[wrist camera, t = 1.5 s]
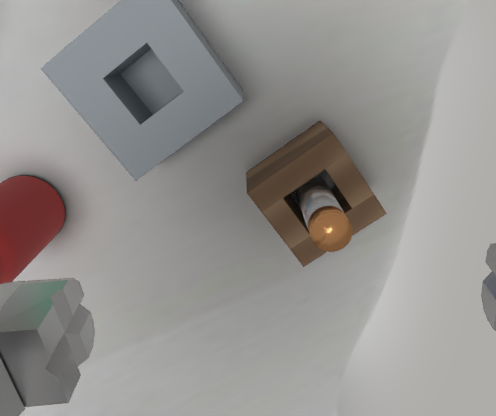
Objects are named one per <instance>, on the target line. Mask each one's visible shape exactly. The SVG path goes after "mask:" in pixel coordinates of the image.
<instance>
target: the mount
mask: <svg viewBox="0 0 496 416" xmlns="http://www.w3.org/2000/svg"><path fill="white" fill-rule="evenodd" d="M323 170H326V171H327V172H328V174H329V175H330V177H331V178H332V180H333V181H334V183H335V184H336V185H337V187H336V188H334V189H333V190H331V192H332V193H333V195H334V197H335V198H336V200H337V202H338V203H339V205H340V207H341V208H342V210H343V212H344V213H345V215H346V216H347V218H348V220H349V221H350V223H351V225H352V230H353V232H352V235H354V234H355V233H357V232H359V231H360V230H362V229H363V228H365V227H366V226H368V225H370V224H371V223H373V222H374V221H376V220H377V219H379V218H380V217H382V216H384V215H385V214H387V213H386V212H385V210H384V209H383V207H382V206H381V204H380V203H379V201H378V200H377V198H376V197H375V195H374V194H373V192H372V191H371V189H370V188H369V186H368V185H367V183H366V182H365V180H364V179H363V177H362V176H361V174H360V173H359V171H358V170H357V168H356V167H355V165H354V164H353V162H352V161H351V159H350V158H349V156H348V155H347V153H346V152H345V150H344V149H343V147H342V146H341V144H340V143H339V141H338V140H337V138H336V137H335V135H334V134H333V132H332V131H331V130H330V129H329V128H328V127H326V126H325V125H324V124H323V123H322V122H321V121H319V122H317V123H316V124H314V125H313V126H312V127H310V128H309V129H307V130H306V131H304V132H303V133H302V134H300V135H299V136H297V137H296V138H295V139H293V140H292V141H290V142H289V143H287V144H286V145H285V146H283V147H282V148H280V149H279V150H278V151H276V152H275V153H273V154H272V155H270V156H269V157H268V158H266V159H265V160H263V161H262V162H261V163H259V164H258V165H256V166H255V167H254V168H252V169H251V170H249V171H248V172H246V179H247V194H248V195H249V196H250V197H251V199H252V200H253V201H254V203H255V204H256V205H257V207H258V208H259V209H260V210H261V212H262V213H263V214H264V216H265V217H266V218H267V220H268V221H269V222H270V224H271V225H272V226H273V227H274V229H275V230H276V231H277V233H278V234H279V235H280V237H281V238H282V239H283V241H284V242H285V243H286V244H287V246H288V247H289V248H290V250H291V251H292V252H293V254H294V255H295V256H296V257H297V259H298V260H299V261H300V263H301V264H302V265H303V267H304V266H306V265H307V264H309V263H310V262H312V261H313V260H315V259H316V258H318V257H320V256H321V255H323V254H324V253H326V252H327V251H323V250H321V249H319V248H318V247H316V246H315V244H314V243H313V241H312V239H311V236H310V233H309V230H308V228H307V225H306V222H305V219H304V217H303V214H302V211H301V209H300V208H299V207H298V205H297V204H296V203H295V201H294V200H293V199H292V197H291V196H290V193H291V192H293V191H294V190H295V189H297V188H298V187H300V186H301V185H303V184H304V183H306V182H307V181H309V180H310V179H312V178H313V177H315V176H316V175H317V174H319V173H320V172H322V171H323Z"/></svg>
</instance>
